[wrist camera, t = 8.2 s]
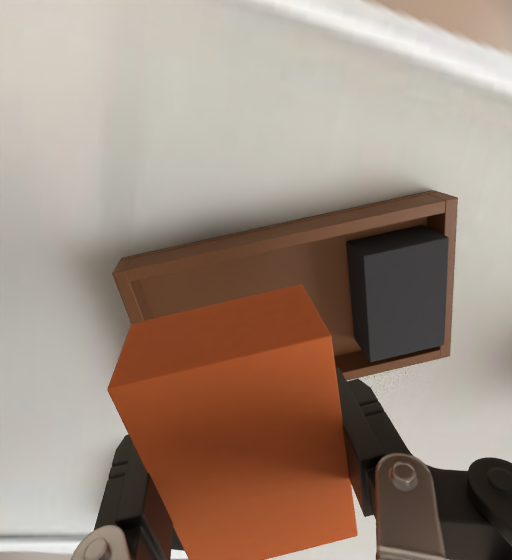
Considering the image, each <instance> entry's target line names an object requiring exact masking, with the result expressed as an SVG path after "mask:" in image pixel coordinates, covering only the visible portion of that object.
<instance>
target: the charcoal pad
mask: <svg viewBox="0 0 512 560" xmlns="http://www.w3.org/2000/svg"><path fill="white" fill-rule="evenodd" d="M346 245H347V257H348V269H349V281H350V293H351V304H352V316H353V328H354V339H355V340H356V342H357V343H358V345H359V346H360V348H361V349H362V351H363V352H364V354H365V355H366V357H367V358H368V360H369V361H370V362H374V361H378V360H382V359H387V358H391V357H395V356H399V355H404V354H408V353H412V352H416V351H421V350H425V349H429V348H433V347H438V346H442V345H444V344H445V320H446V297H447V273H448V249H449V237H447V236H445V235H443V234H441V233H439V232H437V231H435V230H432V229H430V228H428V227H426V226H424V225H419V226H414V227H410V228H405V229H401V230H396V231H392V232H387V233H383V234H378V235H374V236H369V237H365V238H360V239H355V240H351V241H347V242H346Z"/></svg>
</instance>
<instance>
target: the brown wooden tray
mask: <svg viewBox="0 0 512 560" xmlns="http://www.w3.org/2000/svg"><path fill="white" fill-rule="evenodd" d="M457 203H458V198H457V197H454V196H451V195H447V194H444V193H441V192H437V191H434V190H433V191H428V192H424V193H419V194H414V195H410V196H405V197H401V198H396V199H391V200H387V201H382V202H378V203H373V204H368V205H364V206H359V207H355V208H350V209H345V210H341V211H336V212H331V213H327V214H322V215H318V216H313V217H308V218H304V219H299V220H295V221H290V222H285V223H281V224H276V225H272V226H267V227H262V228H258V229H253V230H249V231H244V232H239V233H235V234H230V235H226V236H221V237H216V238H212V239H207V240H203V241H198V242H193V243H189V244H184V245H180V246H175V247H170V248H166V249H161V250H157V251H152V252H147V253H143V254H138V255H134V256H129V257H124V258H121V260H120V262H119V263H118V265H117V266H116V268H115V270H114V271H113V273H112V274H113V277H114V279H115V282H116V284H117V287H118V290H119V292H120V295H121V297H122V300H123V303H124V305H125V308H126V310H127V313H128V315H129V318H130V321H131V323H132V324H134V323H138V322H142V321H147V320H151V319H155V318H159V317H164V316H168V315H172V314H176V313H181V312H185V311H189V310H193V309H198V308H202V307H206V306H210V305H215V304H219V303H223V302H227V301H232V300H236V299H240V298H244V297H249V296H253V295H257V294H261V293H266V292H270V291H274V290H278V289H283V288H287V287H291V286H295V285H300V284H302V286H303V287H304V289H305V291H306V292H307V294H308V296H309V298H310V299H311V301H312V303H313V305H314V306H315V308H316V310H317V312H318V313H319V315H320V317H321V319H322V320H323V322H324V324H325V326H326V327H327V329H328V331H329V333H330V334H331V337H332V345H333V352H334V360H335V367H336V368H340V370H341V372H342V374H343V375H344V377H345V379H346V381H347V380H351V379H355V378H359V377H363V376H368V375H372V374H376V373H380V372H385V371H389V370H393V369H397V368H402V367H406V366H410V365H414V364H419V363H423V362H427V361H431V360H435V359H439V358H444V357H448V356H450V343H451V323H452V303H453V283H454V263H455V243H456V223H457ZM419 225H424V226H426V227H428V228H430V229H432V230H435V231H437V232H439V233H441V234H443V235H445V236H447V237H449V249H448V273H447V297H446V320H445V344H444V345H442V346H438V347H433V348H429V349H425V350H421V351H416V352H412V353H408V354H404V355H399V356H395V357H391V358H387V359H382V360H378V361H374V362H370V361H369V360H368V358H367V357H366V355H365V354H364V352H363V351H362V349H361V348H360V346H359V345H358V343H357V342H356V340H355V339H354V328H353V316H352V304H351V293H350V281H349V269H348V257H347V245H346V242H347V241H351V240H355V239H360V238H365V237H369V236H374V235H378V234H383V233H387V232H392V231H396V230H401V229H405V228H410V227H414V226H419Z"/></svg>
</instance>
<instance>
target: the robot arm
mask: <svg viewBox="0 0 512 560" xmlns="http://www.w3.org/2000/svg"><path fill="white" fill-rule="evenodd" d="M336 375H337V383H338V390H339V398H340V405H341V413H342V420H343V425H342V426H343V434H344V441H345V449H346V456H347V464H348V471H349V479H350V481H351V484H352V486H353V489H354V491H355V494H356V496H357V499H358V502H359V504H360V507H361V509H362V512H363V514H364V517H366V516H370V515H374V516H375V519H376V539H377V553H376V560H447V559H449V560H512V463H510V462H508V461H505V460H502V459H498V458H481V459H478V460H476V461H475V462H473V463H472V464H471V465H470V467H469V470H468V471H457V470H443V469H437V468H433V467H430V466H428V465H426V464H424V463H423V462H422V461H421V460H419V459H418V458H416V457H414V456H413V455H412V454H411V453H410V451H409V450H408V449H407V447H406V445H405V444H404V442H403V440H402V439H401V437H400V435H399V434H398V432H397V431H396V429H395V427H394V426H393V424H392V422H391V421H390V419H389V417H388V416H387V414H386V412H384V409H383V408H382V406H381V404H380V403H379V402H378V399H377V398H376V396H375V394H374V393H373V391H372V389H371V388H370V387H369V386H367V385H366V384H365V383H363V382H362V381H360V380H359V379H356V380H351V381H346V379H345V377H344V375H343V374H342V372H341V370H340V368H336ZM172 532H173V522H172V520H171V518H170V516H169V513H168V511H167V509H166V507H165V505H164V503H163V501H162V499H161V497H160V495H159V492H158V490H157V488H156V486H155V484H154V482H153V480H152V478H151V476H150V474H149V473H147V471H146V469H145V467H144V465H143V463H142V461H141V459H140V457H139V454H138V452H137V450H136V448H135V446H134V444H133V442H132V440H131V438H130V436H129V435H126V436H125V437H124V439H123V440H122V442H121V443H120V445H119V446H118V448H117V449H116V452H115V455H114V459H113V463H112V468H111V470H110V474H109V480H108V481H107V484H106V488H105V492H104V495H103V499H102V503H101V506H100V510H99V513H98V517H97V521H96V524H95V528H94V531H93V532H91V533H90V534H89V535H88V536H86V537H85V538H84V539H83V540H82V541H81V543H80V544H79V545H78V547H77V548H76V550H75V552H74V554H73V556H72V558H71V560H170V556H171V544H172Z"/></svg>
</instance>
